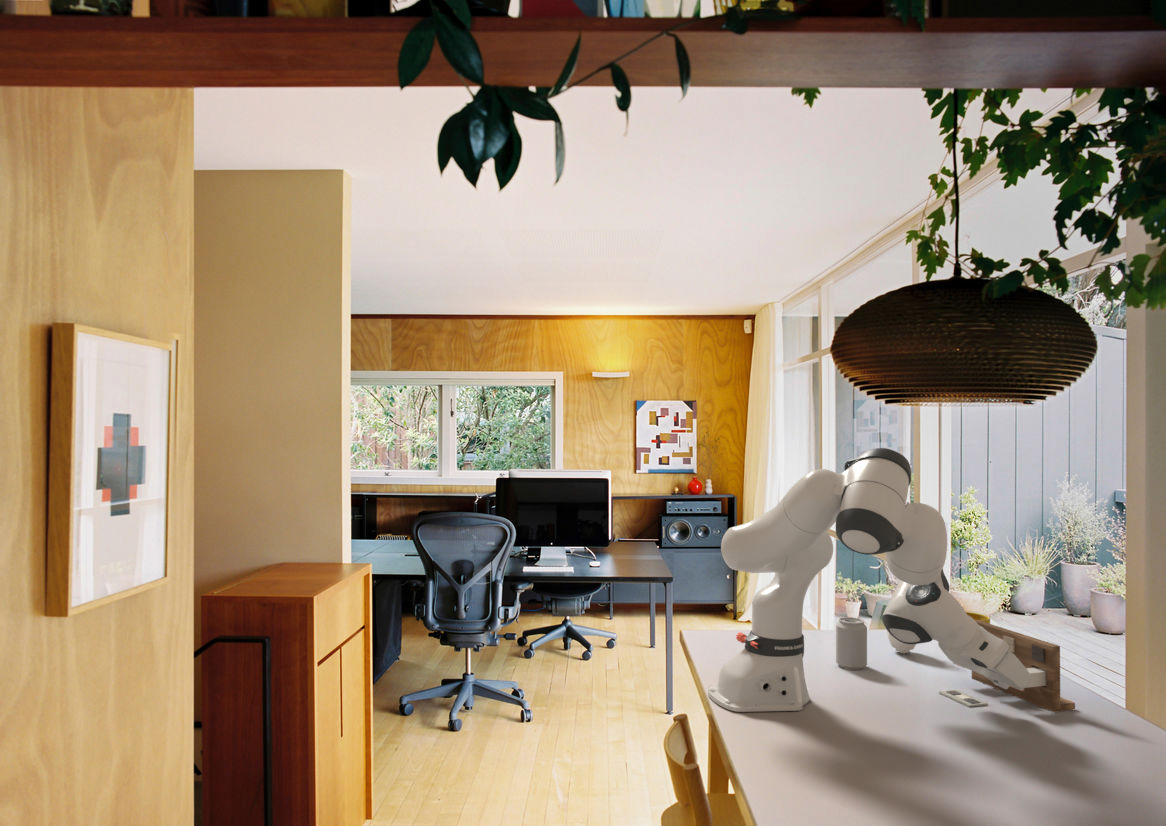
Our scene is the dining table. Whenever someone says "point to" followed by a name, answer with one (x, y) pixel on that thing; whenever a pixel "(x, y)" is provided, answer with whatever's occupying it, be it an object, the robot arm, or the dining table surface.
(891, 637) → the cream tall ovoid
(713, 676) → the dining table surface
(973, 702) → the card
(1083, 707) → the dining table surface
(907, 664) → the dining table surface
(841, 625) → the can
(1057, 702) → the console
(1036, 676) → the button near
